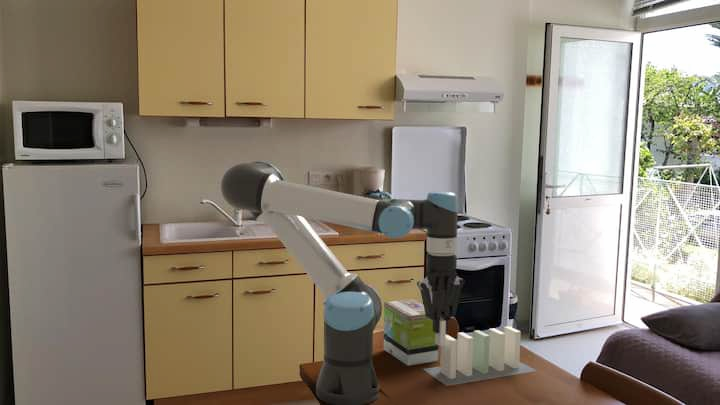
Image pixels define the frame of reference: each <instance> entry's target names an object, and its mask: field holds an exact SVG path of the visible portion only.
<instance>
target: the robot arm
mask: <svg viewBox="0 0 720 405" xmlns="http://www.w3.org/2000/svg"><path fill="white" fill-rule="evenodd" d="M220 191H221V195H222V197H223V199H224V201H226V203H227V204H228V205H230V206H231V207H232V208H234V209H236V210H241V211H246V212H247V211H248V212H249V213H250V214H251V216H253V218H254V219H255V220H256V221H257V222H263V223H264V224H265V223H266V225H267V226H268V227H269V228H270V230H271V231H272V232H273V233H274V235H275V236H276V237H277V238H278V240H279V241H280V242H281V244H282V245H283V246H284V247H285V248H286V250H287V251H288V252H289V254H291V256H292V257H293V258H294V260H295V261H296V262H297V264H298V265H299V266H300V267H301V269H303V272H305V273H306V275H307V276H308V277H309V278H310V280H311V282H313V284H314V285H315V286H316V287H317V288H318V290H319V291H320V292H321V293H322V304H323V306H324V309H323V321H324V322H323V363H322V366H321V368H320V371H319V374H318V377H317V380H316V385H315V394H316V397H317V398H318V399H319V400H320V401H322V402H324V403H326V404H330V405H366V404H370V403H372V402H374V401H375V400H377V398H378V397H379V394H380V383H379V379H378V377H377V374H376V370H375V367H374V364H373V347H374V346H373V342H374V340H373V337H374V331H375V329H376V326H377V325H378V323H379V322H380V320H381V317H382V312H383V310H382V309H383V303H382V299H381V297H380V294H379V293H378V291H376V289H374V288H373V287H372V286H371V285H368V284H365V282H364V281H363V280H362V279H361V278H360V276H359V275H358V274H357V273H351V272H348V270H347V269H346V267H344V265H343V264H342V263H341V262H340V260H339V259H338V258H337V256H336V255H335V254H334V253H333V252H332V250H330V248H329V247H328V246H327V244H326V243H325V242H324V240H322V238H321V237H320V236H319V235H318V233H317V232H316V230H315V229H314V228H313V227H312V226H311V225H310V223H309V222H308V220H307V219H311V220H316V221H319V222H325V223H330V224H335V225H340V226H345V227H348V228H349V227H350V228H353V229H354V228H355V229H359V230H364V231H369V232H374V233H376V234H377V233H378V234H383V235H384V236H385V237H388V238H390V239H394V240H395V239H396V240H397V239H401V238H403V237H405V236H407V235H409V234H410V232H412V230H422V231H423V230H426V252H427V254H426V264H425V265H426V273H425V276H424V279H422V280H421V281H420V280H419V281H417V282H416V286H417V287H418V289H419V290H420V294H421V300H422V304H423V305H424V310H425V315H426V317H428V318H430V319H432V320H433V332H435V344H437V345H438V347H441V346H445V341H446V333H447V332H448V330H449V322H450V321H451V320H452V317H455V316H456V314H457V310H458V305H459V302H460V296H461V291H462V289H463V287H464V285H465V283H466V280H465V279H464V278H460V277H459V276H458V273H457V260H458V259H457V257H458V256H457V254H456V252H457V250H458V249H457V246H458V244H457V242H458V241H457V240H458V238H457V237H458V217H459V216H458V215H459V214H458V211H459V210H458V196H457V194H456V193H454V192H452V191H451V192H450V191H430V192H428V193H427V197H426V199H398V198H390V199H386V198H385V199H382V200H379V199H374V198H371V197H365V196H360V195H355V194H350V193H344V192H339V191H334V190H330V189H325V188H320V187H315V186H312V185H311V186H310V185H304V184H301V183H296V182H289V181H286V180H284V176H283V174H282V173H281V171H280V170H279V169H278V168H277V167H276V166H275V165H273V164H270V163H268V162H264V161H254V162H244V163H237V164H234V165H233V166H231V167H229V169H227V170H226V171H225V173H224V174H223V176H222V178H221V181H220ZM429 288H431V289H429ZM430 290H431V291H430ZM430 292H431V293H430Z"/></svg>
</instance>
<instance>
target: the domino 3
mask: <svg viewBox="0 0 720 405" xmlns="http://www.w3.org/2000/svg"><path fill="white" fill-rule="evenodd" d="M488 335H489V336H490V342H489V366H491V367H493V368H494V369H496V370H498V371H503V370H504V355H505V333H504V331H501V330H498V329H497V328H493V327H492V328H489V329H488Z"/></svg>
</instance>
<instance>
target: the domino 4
mask: <svg viewBox="0 0 720 405" xmlns="http://www.w3.org/2000/svg"><path fill="white" fill-rule="evenodd" d="M503 333H505V355H504V363H505V364H507V365H509V366H510V367H512V368H514V369H515V368H519V361H520V357H521V356H520V354H521V337H522V336H521V335H522V333H521V331H520V330H519V329H516V328H514V327H511V326H503Z"/></svg>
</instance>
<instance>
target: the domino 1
mask: <svg viewBox="0 0 720 405" xmlns="http://www.w3.org/2000/svg"><path fill="white" fill-rule="evenodd" d="M439 358H440V361H439V362H440V364H439V366H440V372H441V373H442V374H444V375H445V376H447V377H448V378H449V379H453V378H456V364H457V338H456V339H455V338H454V337H452V336H450V335H449V334H446V341H445V346H440V357H439Z"/></svg>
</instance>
